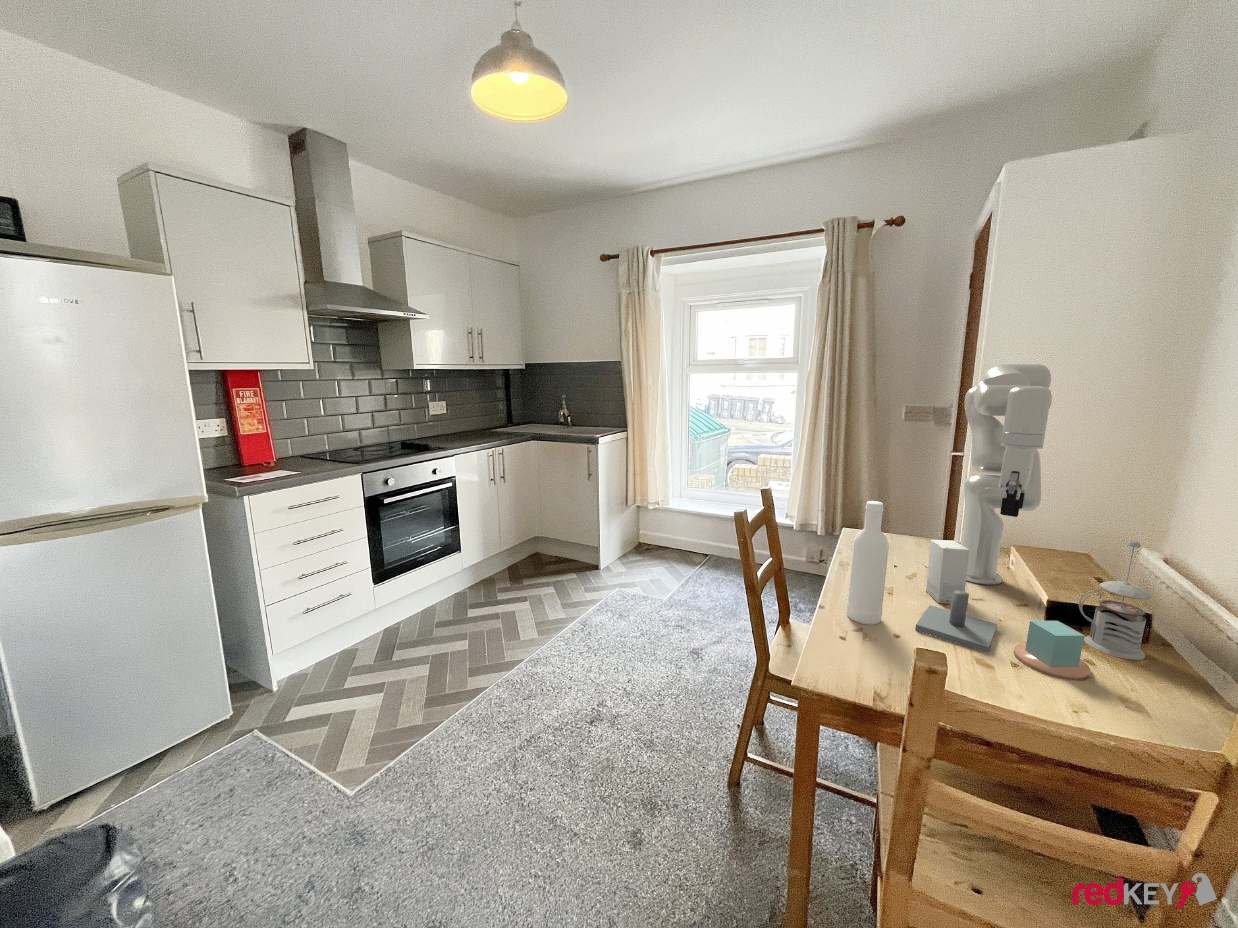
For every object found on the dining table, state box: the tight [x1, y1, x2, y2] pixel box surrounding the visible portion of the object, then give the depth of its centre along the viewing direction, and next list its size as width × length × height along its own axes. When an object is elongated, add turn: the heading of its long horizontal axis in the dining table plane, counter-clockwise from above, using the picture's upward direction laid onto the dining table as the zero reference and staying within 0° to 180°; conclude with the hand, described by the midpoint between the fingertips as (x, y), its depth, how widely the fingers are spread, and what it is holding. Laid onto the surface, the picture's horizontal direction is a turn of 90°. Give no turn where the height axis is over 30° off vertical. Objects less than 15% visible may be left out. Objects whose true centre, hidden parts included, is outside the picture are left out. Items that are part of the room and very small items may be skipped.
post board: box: [915, 590, 998, 654], centre depth 113 cm, size 14×14×10 cm
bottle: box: [846, 500, 890, 626], centre depth 118 cm, size 8×8×30 cm
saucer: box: [1013, 642, 1091, 681], centre depth 101 cm, size 12×12×1 cm
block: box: [1025, 620, 1086, 667], centre depth 100 cm, size 6×6×7 cm
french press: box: [1078, 540, 1153, 660], centre depth 105 cm, size 10×12×25 cm
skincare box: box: [925, 539, 969, 605], centre depth 130 cm, size 8×7×16 cm
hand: (1011, 511), depth 113 cm, fingers open, 9 cm apart
